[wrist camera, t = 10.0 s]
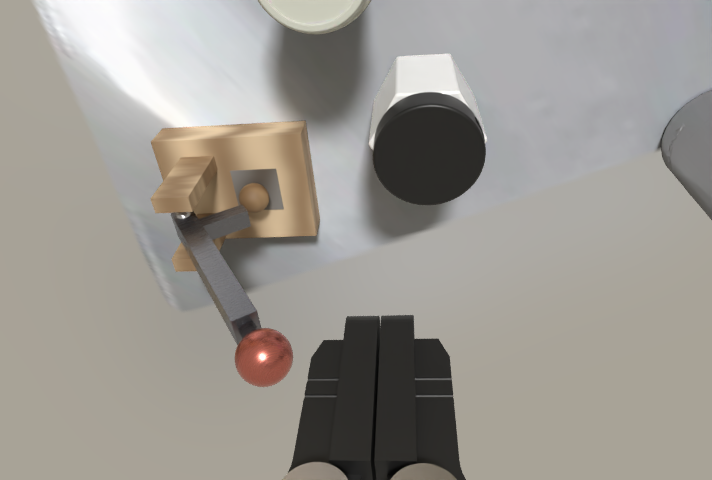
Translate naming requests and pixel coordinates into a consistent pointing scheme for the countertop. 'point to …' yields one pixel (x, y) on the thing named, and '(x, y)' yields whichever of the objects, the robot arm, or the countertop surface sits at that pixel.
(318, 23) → the coffee cup
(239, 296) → the lever
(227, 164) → the cracker base
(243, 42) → the countertop surface
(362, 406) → the robot arm
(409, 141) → the jar
